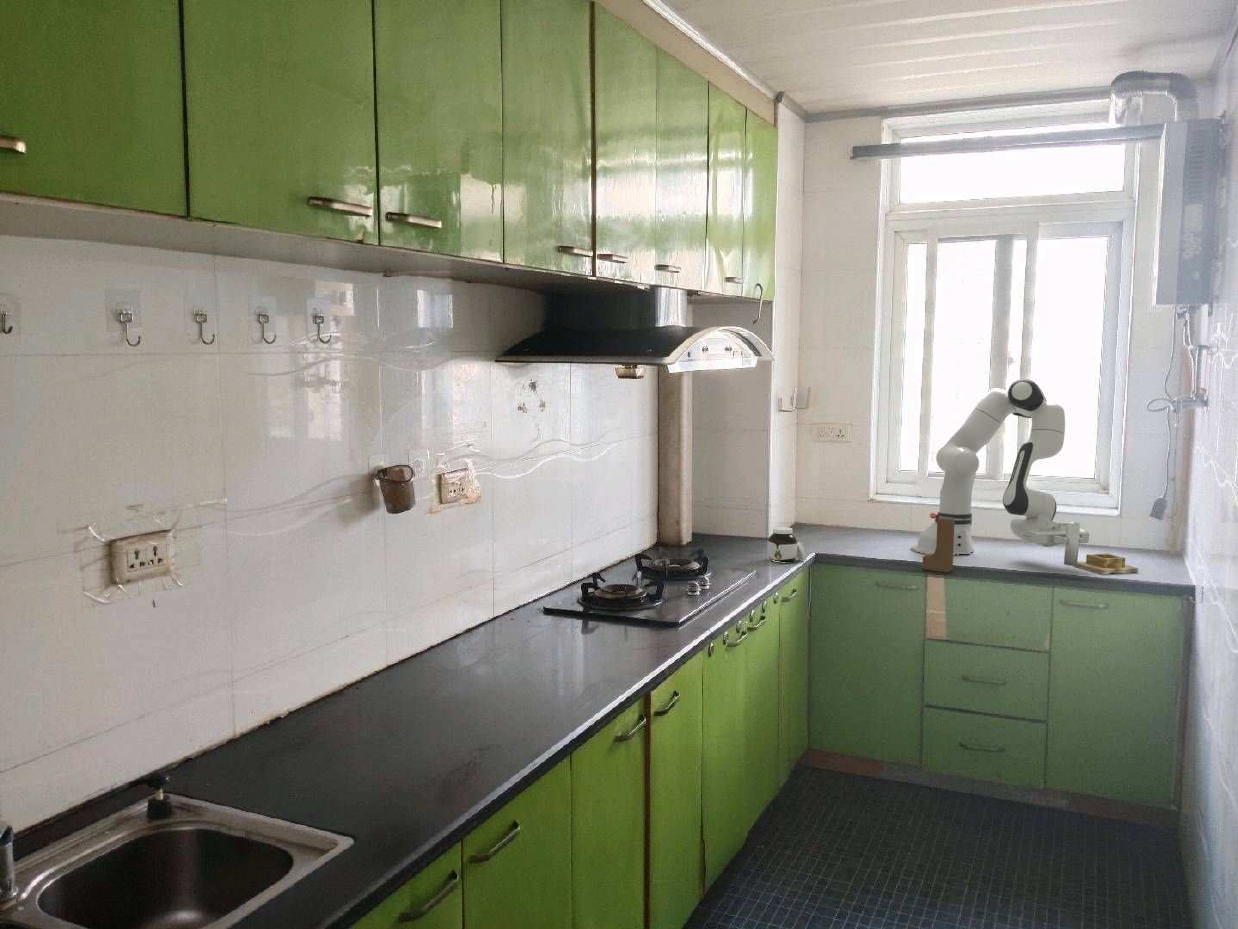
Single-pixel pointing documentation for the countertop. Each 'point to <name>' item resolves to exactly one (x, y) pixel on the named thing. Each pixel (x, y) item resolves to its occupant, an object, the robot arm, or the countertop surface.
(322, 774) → the countertop surface
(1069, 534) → the steel pin
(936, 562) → the wooden block
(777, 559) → the spread jar
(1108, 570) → the socket block
